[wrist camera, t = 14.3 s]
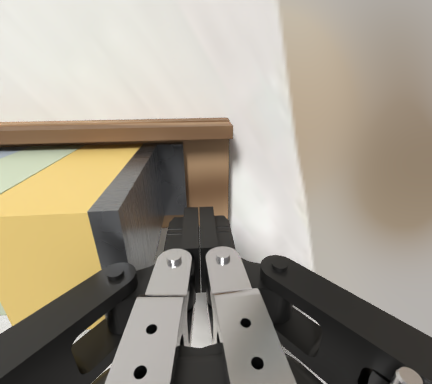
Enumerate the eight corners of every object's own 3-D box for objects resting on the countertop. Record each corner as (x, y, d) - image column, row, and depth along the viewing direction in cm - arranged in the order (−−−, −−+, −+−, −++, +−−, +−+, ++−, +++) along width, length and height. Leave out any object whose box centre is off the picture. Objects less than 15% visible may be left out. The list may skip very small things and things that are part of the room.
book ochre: (152, 212, 20) (116, 327, 10) (100, 215, 19) (16, 334, 10) (143, 143, 17) (87, 213, 8) (84, 145, 17) (-41, 218, 8)
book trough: (226, 217, 22) (264, 380, 10) (-4, 228, 20) (-278, 431, 9) (227, 117, 18) (287, 185, 6) (-50, 123, 17) (-615, 220, 5)
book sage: (100, 215, 19) (31, 313, 11) (53, 216, 19) (-53, 319, 11) (84, 144, 17) (-18, 203, 9) (31, 146, 17) (-125, 208, 9)
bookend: (187, 210, 20) (181, 321, 11) (152, 212, 20) (116, 326, 10) (183, 142, 18) (170, 208, 8) (143, 143, 17) (87, 211, 8)
